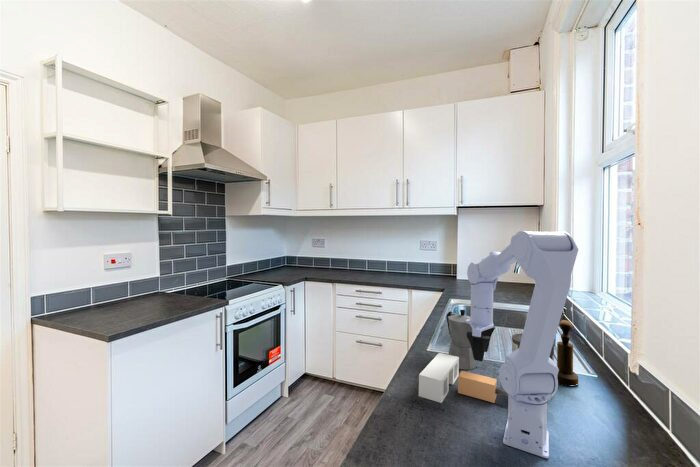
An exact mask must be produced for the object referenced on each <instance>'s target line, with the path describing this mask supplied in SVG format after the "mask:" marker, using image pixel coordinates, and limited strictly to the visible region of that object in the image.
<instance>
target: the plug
mask: <svg viewBox="0 0 700 467" xmlns="http://www.w3.org/2000/svg"><path fill="white" fill-rule="evenodd" d="M457 393H458V394H461V395H463V396H464V395H465V396H468V397H471V398H475V399H479V400H483V401H487V402H489V403H493V404H495V403H496V401H497V400H496V399H497V396H498V395H499V396H503V397H507V398H508V393H507V392H506V391H505V390H504V389H503V388H502V389H501V388H498V378H495V377H490V376H487V375H481V374H477V373H473V372H470V371H466V370H461V371H460V373H459V376H458V377H457Z"/></svg>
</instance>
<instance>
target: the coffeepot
mask: <svg viewBox="0 0 700 467" xmlns="http://www.w3.org/2000/svg"><path fill="white" fill-rule="evenodd" d="M459 312H460V314H457V313H456V312H453V311H447V314H446V315H445V316H446V323H447V329H448V334H449V337H450V338H451V342H450V344H449V348H448V353H447V354H448V355H452V356H457V357H459V370H461V371H470V370H474V369H475V368H476V367H477V360H474V358H473V353H472V348H471V345H470V342H469V340H468V338H467V332H472V327H471V325H470V324H468V323H466V320H467V319H469V320H470V318H471V316H469V315H465V313H466V310H465V309H459Z"/></svg>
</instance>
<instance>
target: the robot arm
mask: <svg viewBox="0 0 700 467" xmlns="http://www.w3.org/2000/svg"><path fill="white" fill-rule="evenodd" d="M578 254H579V248H578V246H577V244H576V242H575V240H574V238H573V237H572V235H571V234H570V233H568V232H567V231H561V230H560V231H527V230H520V231H518V232H516V233H515V234H513V235H511V239H510V243H509V244H508V245H507V246H506V247H505V248H503V250H501V252H500V251H490V252H489V255H487V256H486V257H485V258H482V259H481V261H479V262H478V263H477V262H470V263H469V265H468V266H467V272H466V276H467V280H468V282H469V283H470V317H471V318H470V320H469V319H467V320H466V323H468V324H470V325H471V327H472V332H467V338H468V340H469V342H470V345H471V348H472V353H473V358H474V360H476V362H477V361H478V362H483V360H484V357H485V353H488V351H489V347H490V342H491V339H492V338H491V337H492V335H493V332H494V331H495V329H496V326H494V291H496V290H497V287H496V286H497V282H498V281H499V277H501V276H503V275H505V274H507V273H508V272H510V269H511V265H514V264H515V263H518V265H519V266H520V268H521V269H522V271H523V273H524V274H525V276H527V277H528V278H531V279H533V281H534V283H535V284H534V287H533V293H532V295H531V299H530V302H529V308H528V312H527V316H526V318H525V319H526V320H525V322H524V323H525V324H524V328H523V331H522V333H521V334H522V338H521V342H520V346H519V348H518V349H517V350H515V351H514V352H512V351H511V353H508V354H506V356H505V358H504V359H505V360H504V362H503V363H502V364H501V366H500V368H499V372H498V376H499V378H498V379H499V381H500V385H501V387H502V390H505V391H506V392H507V393H508V397H507V400H508V401H507V403H508V404H507V407H508V408H507V420H506V424H505V429H504V434H503V439H502V443H503V444H504V445H506V446H508V447H509V446H510V447H511V448H515V449H517V450H520V451H524V452H527V453H529V454H532V455H534V456H535V455H536V456H538V457H541V458H545V459H549V458H550V442H549V441H550V437H549V436H550V435H549V434H550V432H549V430H547V429H548V401H551V400H552V398H551V395H552V394H554V395H555V394H556V392H557V391H558V387H559V384H558V379H557V375H558V371H559V369H558V367H557V363H556V362H555V360H554V361H553V360H552V359H551V358H550V357H549V356H550V353H551V349H552V346H553V343H555V338H556V336H557V335H556V334H557V331H558V329H559V327H560V322H561V318H562V315H563V312H564V308H565V305H566V301H567V298H568V294H569V291H570V288H571V283H572V273H573V269H574V267H575V263H576V259H577V256H578Z"/></svg>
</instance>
